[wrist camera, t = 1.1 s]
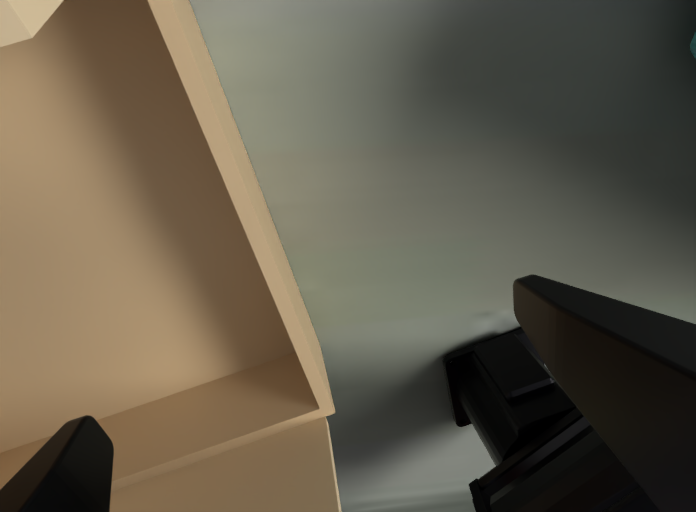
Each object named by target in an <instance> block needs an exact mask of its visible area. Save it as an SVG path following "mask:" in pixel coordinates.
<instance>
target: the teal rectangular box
mask: <svg viewBox="0 0 696 512" xmlns="http://www.w3.org/2000/svg"><path fill="white" fill-rule="evenodd" d="M690 50H691V52H692V54H693V56H694V58H696V32H695V34H694V36H693V39H692V41H691V44H690Z"/></svg>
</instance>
